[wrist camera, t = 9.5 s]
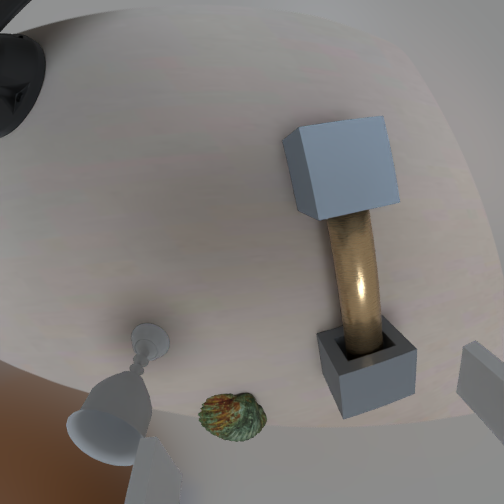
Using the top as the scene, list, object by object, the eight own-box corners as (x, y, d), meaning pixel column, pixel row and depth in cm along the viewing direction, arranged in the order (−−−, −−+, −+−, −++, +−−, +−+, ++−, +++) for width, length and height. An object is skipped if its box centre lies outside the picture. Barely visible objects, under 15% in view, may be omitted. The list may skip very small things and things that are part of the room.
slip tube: (316, 192, 32) (328, 194, 28) (355, 184, 32) (371, 185, 28) (344, 371, 37) (355, 390, 33) (375, 360, 37) (389, 379, 33)
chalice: (164, 309, 37) (119, 403, 19) (186, 355, 38) (163, 462, 21) (114, 325, 37) (51, 413, 19) (137, 368, 38) (95, 467, 21)
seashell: (185, 442, 37) (222, 398, 36) (186, 422, 41) (221, 378, 40) (247, 462, 40) (287, 422, 38) (244, 443, 44) (281, 403, 42)
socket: (316, 333, 39) (338, 376, 29) (381, 314, 39) (416, 348, 29) (322, 373, 40) (343, 419, 31) (383, 354, 40) (414, 393, 31)
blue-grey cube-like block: (282, 140, 33) (298, 127, 25) (349, 129, 34) (383, 115, 25) (298, 210, 35) (319, 220, 26) (362, 196, 35) (400, 202, 27)
